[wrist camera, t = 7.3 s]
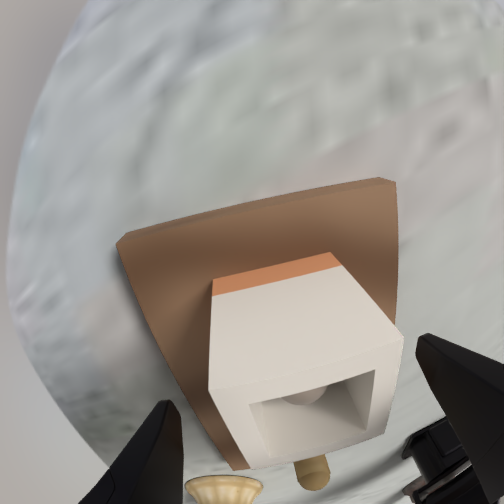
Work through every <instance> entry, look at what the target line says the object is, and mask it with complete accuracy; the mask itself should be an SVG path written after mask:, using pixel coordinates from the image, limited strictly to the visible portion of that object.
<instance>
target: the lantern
mask: <svg viewBox="0 0 504 504" xmlns="http://www.w3.org/2000/svg"><path fill="white" fill-rule="evenodd" d="M453 478H455V476H454V477H452V478H451V479H449V480H448V481H446V482H445V483H443V484H442V485H440V486H439V487H437V488H436V489H434V490H433V491H435V490H437V489H438V488H440V487H441V486H443V485H444V484H446V483H447V482H449V481H450V480H452V479H453ZM424 485H426V483H425V481H424V479H423V477H422V476H420V477H419V478H417V479H416V480H414V481H413V482H411V483H410V484H409V485H407V486H406V487H405V488H404V489H403V493H404V494H405V495H408V496H410V499H411V501H412V503H415V501H414V499H413V497H412V494H413V491H415V490H417V489H419V488H421V487H423V486H424ZM433 491H431V492H429V493H428V495H429V494H430V493H432V492H433Z"/></svg>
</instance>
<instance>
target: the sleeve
mask: <svg viewBox="0 0 504 504" xmlns="http://www.w3.org/2000/svg"><path fill="white" fill-rule="evenodd" d="M403 343H404V337H403V335H402V334H401V333H400V332H399V330H398V329H397V328H396V327H395V326H394V324H393V323H392V322H391V321H390V320H389V318H388V317H387V316H386V315H385V314H384V312H383V311H382V310H381V309H380V308H379V307H378V305H377V304H376V303H375V302H374V301H373V300H372V298H371V297H370V296H369V295H368V294H367V293H366V291H365V290H364V289H363V288H362V287H361V286H360V285H359V283H358V282H357V281H356V280H355V279H354V278H353V277H352V275H351V274H350V273H349V272H348V271H347V270H346V269H345V268H344V267H343V265H342V264H341V263H340V262H339V261H338V260H337V259H336V258H335V257H334V256H333V254H332V253H331V252H327V253H323V254H319V255H315V256H311V257H307V258H303V259H298V260H294V261H290V262H286V263H282V264H277V265H273V266H269V267H265V268H260V269H256V270H252V271H247V272H243V273H239V274H234V275H230V276H226V277H221V278H217V279H213V288H212V306H211V327H210V351H209V383H208V391H209V393H210V395H211V397H212V399H213V401H214V403H215V405H216V407H217V409H218V410H219V412H220V414H221V416H222V418H223V420H224V422H225V424H226V426H227V427H228V429H229V431H230V433H231V435H232V437H233V438H234V440H235V442H236V444H237V445H238V447H239V449H240V451H241V452H242V454H243V456H244V458H245V459H246V461H247V463H248V464H249V466H250V468H251V469H252V470H253V469H260V468H266V467H271V466H276V465H281V464H286V463H291V462H295V461H300V460H304V459H308V458H312V457H315V456H319V455H323V454H326V453H330V452H333V451H336V450H340V449H343V448H346V447H349V446H352V445H355V444H358V443H360V442H363V441H366V440H369V439H371V438H374V437H377V436H379V435H382V434H384V432H385V429H386V425H387V421H388V417H389V414H390V410H391V405H392V401H393V397H394V392H395V388H396V383H397V378H398V373H399V368H400V362H401V356H402V350H403ZM326 385H328V386H327V388H326V391H325V392H324V394H323V395H322V396H321V397H320V398H319V399H318V400H316V401H314V402H312V403H310V404H307V405H294V404H291V403H288V402H286V401H285V400H283V399H282V398H281V397H284V396H288V395H292V394H296V393H300V392H304V391H308V390H312V389H315V388H319V387H322V386H326Z"/></svg>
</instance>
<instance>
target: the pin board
mask: <svg viewBox="0 0 504 504" xmlns="http://www.w3.org/2000/svg"><path fill="white" fill-rule="evenodd" d="M116 246H117V249H118V252H119V255H120V258H121V260H122V263H123V266H124V268H125V271H126V273H127V276H128V278H129V281H130V283H131V286H132V288H133V291H134V293H135V296H136V298H137V300H138V303H139V305H140V307H141V310H142V312H143V314H144V316H145V318H146V321H147V323H148V325H149V327H150V329H151V331H152V334H153V336H154V338H155V340H156V342H157V344H158V346H159V348H160V350H161V352H162V354H163V356H164V358H165V360H166V362H167V364H168V366H169V368H170V370H171V371H172V373H173V375H174V377H175V379H176V381H177V383H178V384H179V386H180V388H181V390H182V392H183V393H184V395H185V397H186V399H187V400H188V402H189V404H190V405H191V407H192V409H193V410H194V412H195V414H196V415H197V417H198V419H199V420H200V422H201V424H202V425H203V427H204V428H205V430H206V432H207V433H208V435H209V436H210V438H211V439H212V441H213V442H214V444H215V445H216V447H217V448H218V450H219V451H220V453H221V454H222V456H223V457H224V458H225V460H226V461H227V463H228V464H229V466H230V467H231V468H232V470H233V471H236V470H243V469H251V468H250V466H249V464H248V463H247V461H246V459H245V458H244V456H243V454H242V452H241V451H240V449H239V447H238V445H237V444H236V442H235V440H234V438H233V437H232V435H231V433H230V431H229V429H228V427H227V426H226V424H225V422H224V420H223V418H222V416H221V414H220V412H219V410H218V409H217V407H216V405H215V403H214V401H213V399H212V397H211V395H210V393H209V391H208V383H209V351H210V327H211V306H212V288H213V279H217V278H221V277H226V276H230V275H234V274H239V273H243V272H247V271H252V270H256V269H260V268H265V267H269V266H273V265H277V264H282V263H286V262H290V261H294V260H298V259H303V258H307V257H311V256H315V255H319V254H323V253H327V252H331V253H332V254H333V256H334V257H335V258H336V259H337V260H338V261H339V262H340V263H341V264H342V265H343V267H344V268H345V269H346V270H347V271H348V272H349V273H350V274H351V275H352V277H353V278H354V279H355V280H356V281H357V282H358V283H359V285H360V286H361V287H362V288H363V289H364V290H365V291H366V293H367V294H368V295H369V296H370V297H371V298H372V300H373V301H374V302H375V303H376V304H377V305H378V307H379V308H380V309H381V310H382V311H383V312H384V314H385V315H386V316H387V317H388V318H389V320H390V321H391V322H392V323H393V324H394V326H395V315H396V302H397V285H398V211H397V194H396V182H394V181H390V180H387V179H383V178H380V177H378V178H372V179H365V180H359V181H354V182H348V183H342V184H337V185H331V186H326V187H320V188H315V189H310V190H305V191H300V192H295V193H290V194H285V195H280V196H275V197H270V198H266V199H261V200H256V201H252V202H247V203H243V204H238V205H234V206H230V207H225V208H221V209H217V210H213V211H208V212H204V213H200V214H196V215H192V216H188V217H184V218H180V219H176V220H172V221H168V222H165V223H161V224H157V225H153V226H150V227H146V228H142V229H139V230H135V231H131V232H128V233H126V234H125V235H124V236H123V237H122V238H121V239H120V240H119V241H118V242H117V243H116ZM327 386H328V385H326V386H322V387H319V388H315V389H312V390H308V391H304V392H300V393H296V394H292V395H288V396H284V397H281V398H282V399H283V400H285V401H286V402H288V403H291V404H294V405H307V404H310V403H312V402H314V401H316V400H318V399H319V398H320V397H321V396H322V395H323V394H324V392H325V391H326V388H327ZM294 467H295V471H296V475H297V480H298V482H299V483H300V485H301V486H302V487H303V488H304V489H306V490H310V491H316V490H319V489H322V488H323V487H325V486H326V485H327V483H328V482H329V479H330V470H329V467H328V463H327V460H326V457H325V454H323V455H319V456H315V457H312V458H308V459H304V460H300V461H295V462H294Z"/></svg>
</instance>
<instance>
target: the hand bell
mask: <svg viewBox="0 0 504 504" xmlns="http://www.w3.org/2000/svg"><path fill="white" fill-rule="evenodd" d="M185 488H186V490H187V491H188V493H189V494H190V495H192V496H193V497H194V499H195V500H196V501H197V503H198V504H252V503H253V501H254V499H255V498H256V497H257V496H258V495H259V494H260V493H261V491H262V489H263V485H262V484H261V483H260V482H259V481H257V480H254V479H251V478H247V477H241V476H229V475H219V476H205V477H199V478H195V479H192V480H190V481H188V482H187V483H186V485H185Z"/></svg>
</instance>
